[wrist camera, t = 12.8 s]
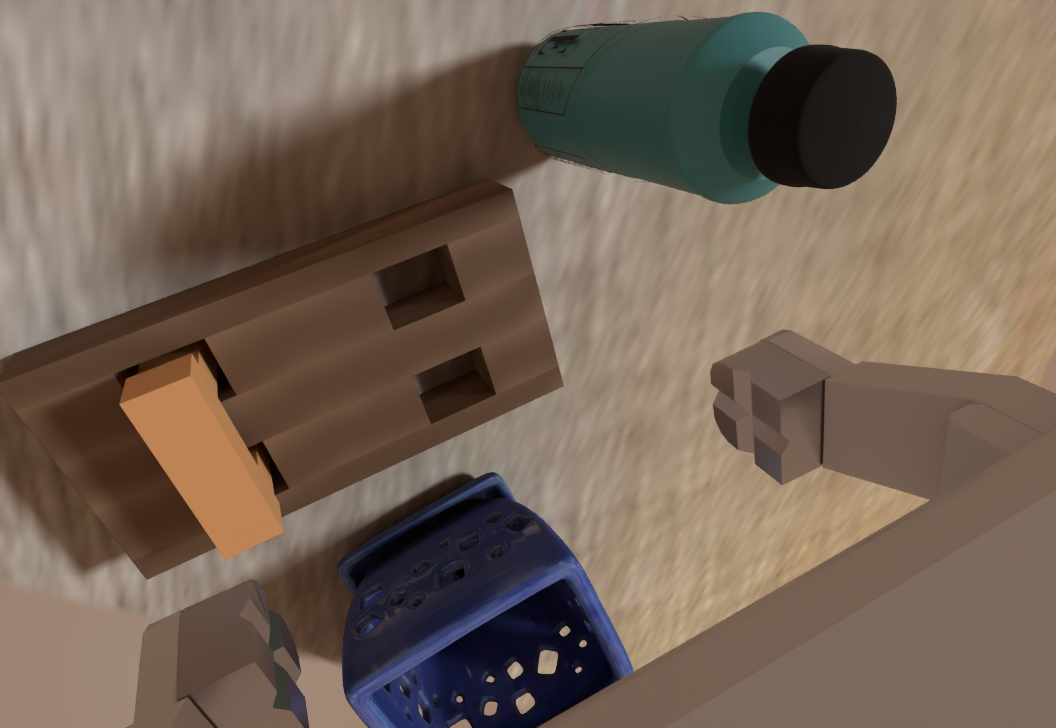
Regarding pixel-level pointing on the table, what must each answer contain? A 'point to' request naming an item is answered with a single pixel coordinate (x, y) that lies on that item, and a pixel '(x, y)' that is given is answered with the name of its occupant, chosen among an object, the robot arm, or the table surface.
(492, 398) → the block with square holes
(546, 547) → the flower pot
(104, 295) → the table surface
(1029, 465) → the robot arm
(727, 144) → the beverage bottle
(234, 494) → the tan two-pronged block
